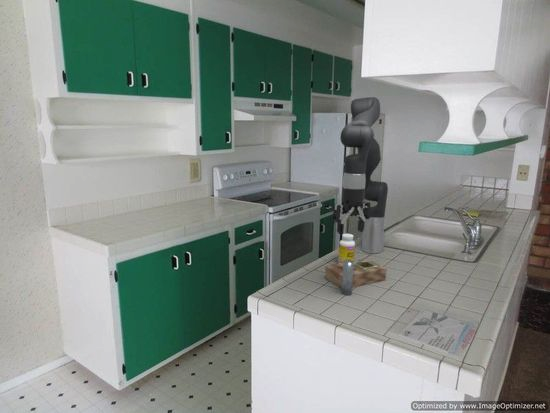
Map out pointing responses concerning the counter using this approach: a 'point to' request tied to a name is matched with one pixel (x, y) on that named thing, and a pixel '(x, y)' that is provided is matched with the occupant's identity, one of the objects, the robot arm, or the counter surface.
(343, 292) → the pin
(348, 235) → the supplement bottle
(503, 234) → the counter surface
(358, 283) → the bore block
